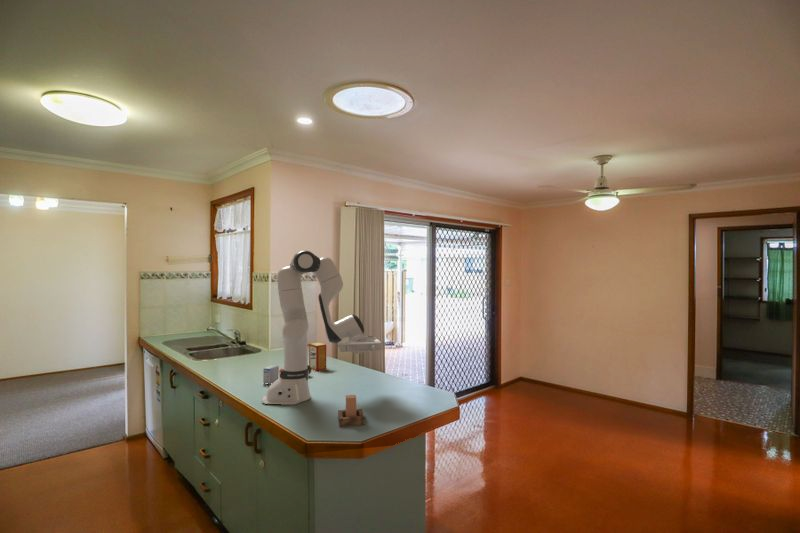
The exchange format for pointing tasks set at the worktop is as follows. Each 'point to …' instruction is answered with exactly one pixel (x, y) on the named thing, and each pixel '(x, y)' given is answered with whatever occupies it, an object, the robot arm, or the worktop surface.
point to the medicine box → (270, 374)
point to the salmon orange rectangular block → (350, 405)
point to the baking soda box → (317, 356)
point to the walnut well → (351, 418)
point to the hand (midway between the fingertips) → (361, 349)
